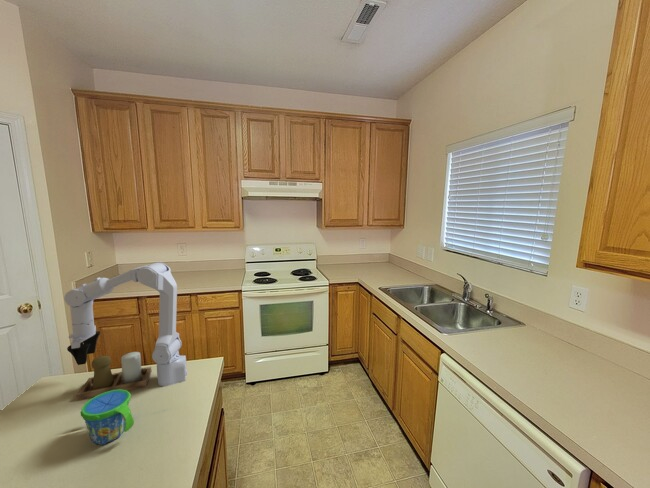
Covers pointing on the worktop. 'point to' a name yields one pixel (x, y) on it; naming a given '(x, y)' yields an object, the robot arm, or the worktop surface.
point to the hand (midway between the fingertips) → (86, 358)
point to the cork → (102, 373)
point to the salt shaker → (131, 367)
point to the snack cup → (107, 416)
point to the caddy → (89, 393)
